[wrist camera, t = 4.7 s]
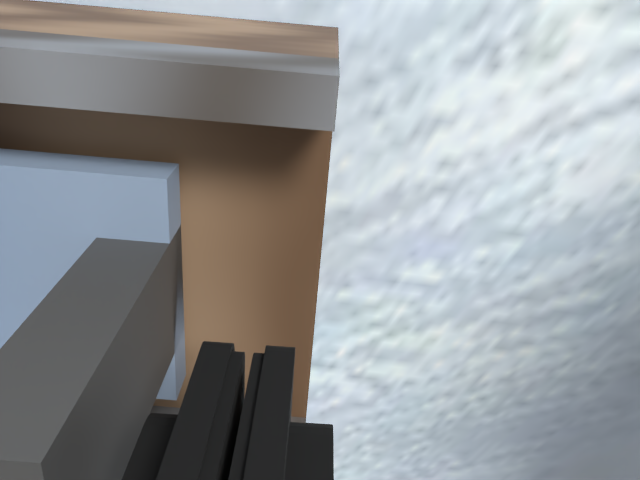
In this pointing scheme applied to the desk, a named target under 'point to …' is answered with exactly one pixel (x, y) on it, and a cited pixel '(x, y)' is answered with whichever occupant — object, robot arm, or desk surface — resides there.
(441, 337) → the desk surface
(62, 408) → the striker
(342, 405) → the desk surface
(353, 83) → the desk surface
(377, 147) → the desk surface
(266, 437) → the robot arm
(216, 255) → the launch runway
